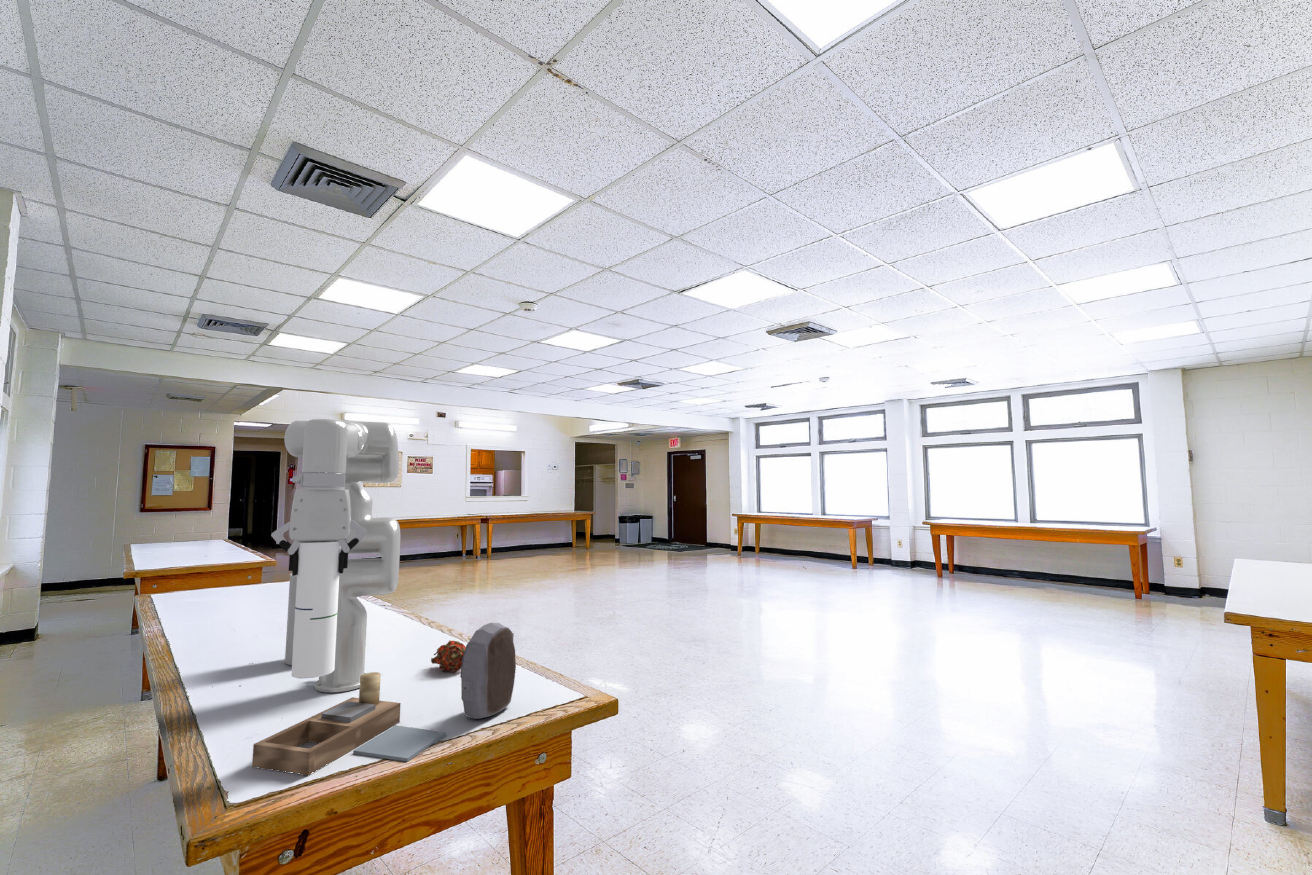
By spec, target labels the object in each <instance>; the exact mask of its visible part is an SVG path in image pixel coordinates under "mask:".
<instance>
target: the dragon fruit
mask: <svg viewBox="0 0 1312 875" xmlns="http://www.w3.org/2000/svg"><path fill="white" fill-rule="evenodd" d="M465 648H466V645H464V643H462V642H460V641H459V640H448V641H447V643H445V644H442V645H440V646H439V647H438V648H437V649H436V652H434V653H433V656H435V657H431V659H430V662H431V663H432V665H433V664H436V665H439V666H438V668H439V670H440V671H442V672H446V671H448V672H454V673H455V672H458V670H459V669H461V667H462V658H463V655H464V652H465Z"/></svg>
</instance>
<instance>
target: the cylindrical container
mask: <svg viewBox="0 0 1312 875" xmlns="http://www.w3.org/2000/svg"><path fill="white" fill-rule="evenodd" d="M297 550H298V568H297V585H296V604H295V621H294V638H293V656H292V666H291V677H292V678H295V679H303V680H304V679H314V678H315V679H316V678H319V677H320V676H324V675H327V674H330V673H332V672H333V671H334V668H335V649H336V629H337V610H338V591H339V559H340V552H341V546H340V545H339V541H337V540H336V541H303V542H300V545H299V548H298V549H297Z"/></svg>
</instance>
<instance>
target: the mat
mask: <svg viewBox="0 0 1312 875" xmlns="http://www.w3.org/2000/svg"><path fill="white" fill-rule="evenodd" d="M446 733H447V732H446V731H441V730H435V729H434V730H433V729H427V728H418V727H411V726H402V725H397V724H396V725H394V726H392V727H390V728H389V729H387V730H385V731H384V732H382V733H380V734H379V735H377V736H375V737H374V738H372V739H370V740H368V741H367V742H365V743H363V744H362V745H360V746H358V747H357V748H355V749H353V750H352V751H353V752H352V754H353V755H360V756H366V757H371V758H372V757H374V758H379V759H386V760H392V761H393V760H394V761H400V762H409V761H411V760H412V759H413V758H415V757H416V756H417V755H420V753H422V752H424V751H425V750H426V749H428V748H429V747H431V746H432V745H434V744H435V743H436V742H437V741H439V740H440V739H442V738H444V737H445V736H446V735H447V734H446Z"/></svg>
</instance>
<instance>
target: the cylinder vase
mask: <svg viewBox="0 0 1312 875" xmlns="http://www.w3.org/2000/svg"><path fill="white" fill-rule="evenodd" d="M296 585H297V575H296V576H292V573H290V574H289V586H288V587H289V588H288V603H287V606H288V607H287V617H286V618H287V619H286V620H287V621H286V635H285V636H286V638H285V654H284V663H285V664H286V665H287V666H290V667H292V656H293V638H294V621H295V604H296Z"/></svg>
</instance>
